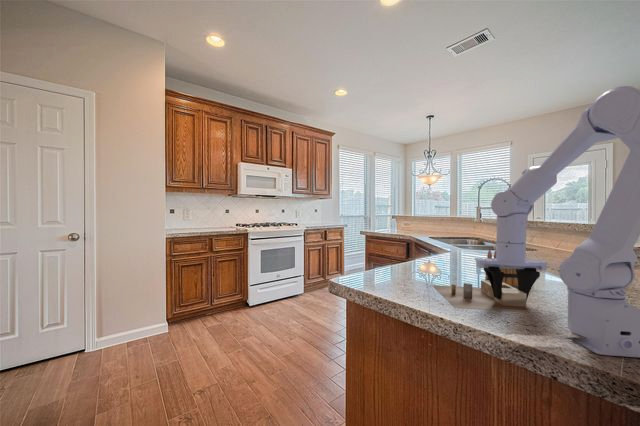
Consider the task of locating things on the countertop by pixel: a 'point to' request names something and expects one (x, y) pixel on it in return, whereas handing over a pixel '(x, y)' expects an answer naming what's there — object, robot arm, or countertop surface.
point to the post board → (475, 299)
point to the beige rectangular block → (505, 294)
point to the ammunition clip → (509, 275)
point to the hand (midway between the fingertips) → (509, 298)
